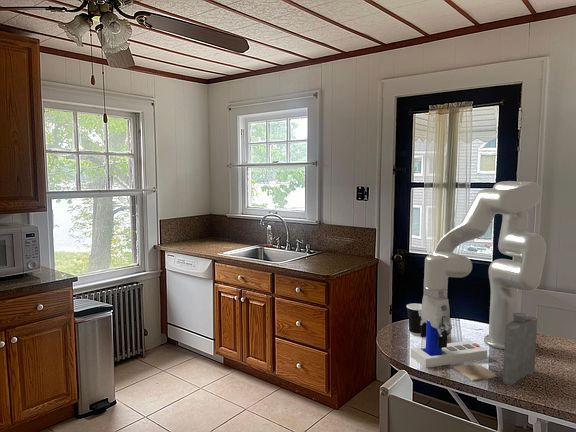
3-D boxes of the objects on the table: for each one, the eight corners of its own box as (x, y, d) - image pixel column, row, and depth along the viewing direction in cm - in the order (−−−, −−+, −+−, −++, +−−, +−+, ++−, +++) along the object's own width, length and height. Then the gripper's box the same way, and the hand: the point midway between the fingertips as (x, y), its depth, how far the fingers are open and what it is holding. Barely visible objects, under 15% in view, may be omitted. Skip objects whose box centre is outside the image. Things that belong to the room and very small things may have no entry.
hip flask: (511, 386, 132) (514, 321, 130) (497, 381, 135) (500, 317, 133) (536, 371, 141) (539, 310, 139) (523, 367, 144) (526, 307, 142)
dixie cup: (403, 329, 178) (404, 303, 177) (423, 330, 178) (424, 303, 177) (408, 337, 170) (409, 309, 169) (429, 337, 170) (430, 309, 169)
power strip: (469, 348, 159) (469, 339, 159) (486, 358, 151) (487, 348, 150) (410, 356, 153) (410, 346, 152) (425, 367, 144) (425, 357, 144)
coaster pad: (477, 364, 146) (477, 363, 146) (496, 377, 138) (497, 375, 137) (453, 368, 144) (453, 366, 144) (472, 380, 135) (472, 379, 135)
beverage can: (442, 363, 147) (443, 320, 146) (426, 362, 148) (427, 319, 147) (440, 357, 152) (441, 315, 151) (424, 356, 153) (425, 314, 152)
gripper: (461, 298, 140) (459, 350, 142) (429, 285, 157) (428, 332, 159) (441, 300, 138) (439, 353, 140) (411, 286, 155) (409, 334, 157)
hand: (433, 341), depth 149 cm, fingers open, 9 cm apart
